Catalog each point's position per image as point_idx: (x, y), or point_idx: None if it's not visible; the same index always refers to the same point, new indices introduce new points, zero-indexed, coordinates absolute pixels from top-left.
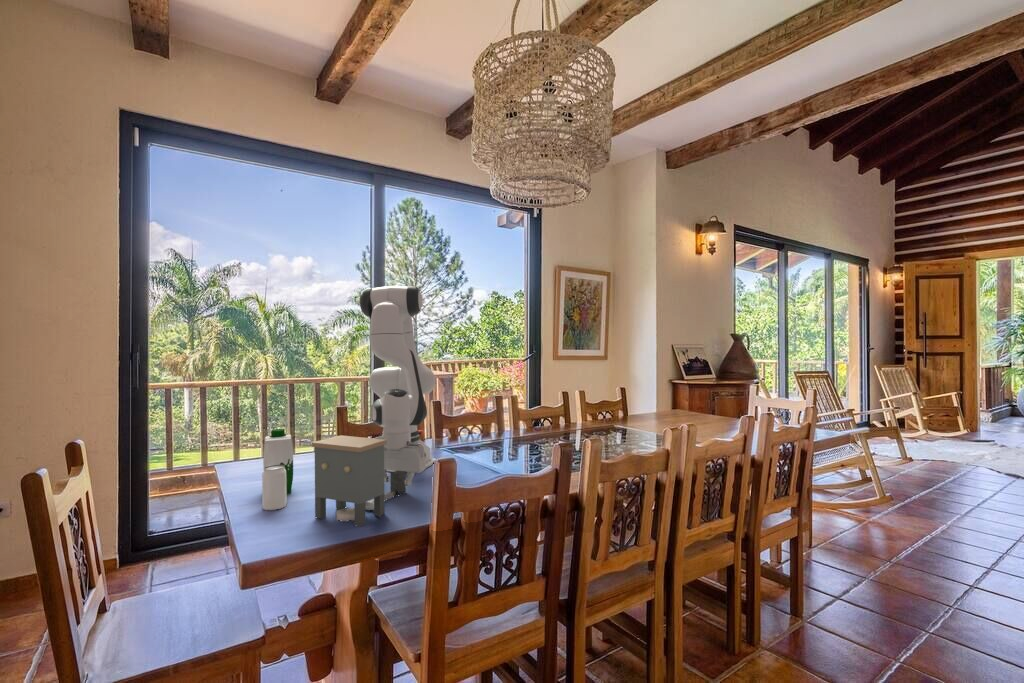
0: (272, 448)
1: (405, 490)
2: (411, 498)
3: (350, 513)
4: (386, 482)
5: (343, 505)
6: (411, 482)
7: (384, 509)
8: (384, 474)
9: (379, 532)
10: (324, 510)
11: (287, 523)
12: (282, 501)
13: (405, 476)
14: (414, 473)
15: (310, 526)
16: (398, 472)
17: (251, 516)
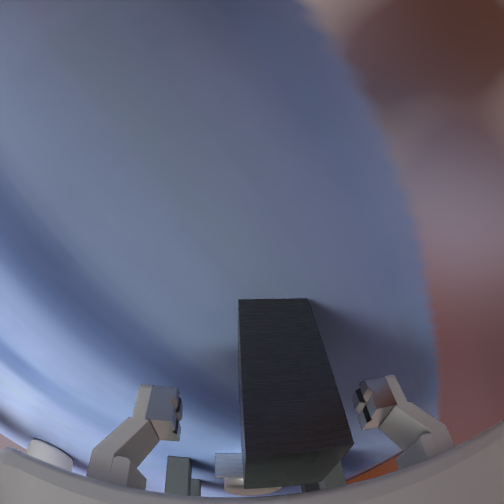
0: None
1: (310, 312)
2: (380, 350)
3: (274, 491)
4: (181, 403)
5: (189, 470)
6: (397, 383)
7: (340, 461)
8: (145, 446)
9: (365, 468)
10: (198, 494)
11: (163, 489)
12: (68, 469)
13: (340, 400)
14: (445, 430)
15: (216, 492)
16: (301, 473)
17: (79, 471)
